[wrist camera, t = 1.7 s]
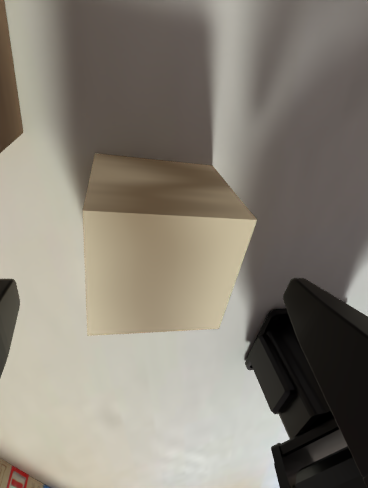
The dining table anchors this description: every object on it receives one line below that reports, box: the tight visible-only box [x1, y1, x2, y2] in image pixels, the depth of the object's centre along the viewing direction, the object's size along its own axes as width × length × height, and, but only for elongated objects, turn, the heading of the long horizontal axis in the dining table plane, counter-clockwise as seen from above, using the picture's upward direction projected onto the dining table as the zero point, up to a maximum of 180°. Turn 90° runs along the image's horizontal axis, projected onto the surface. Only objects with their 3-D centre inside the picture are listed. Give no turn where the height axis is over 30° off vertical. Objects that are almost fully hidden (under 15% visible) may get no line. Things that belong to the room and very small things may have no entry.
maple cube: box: [83, 153, 257, 336], centre depth 11 cm, size 5×5×5 cm
